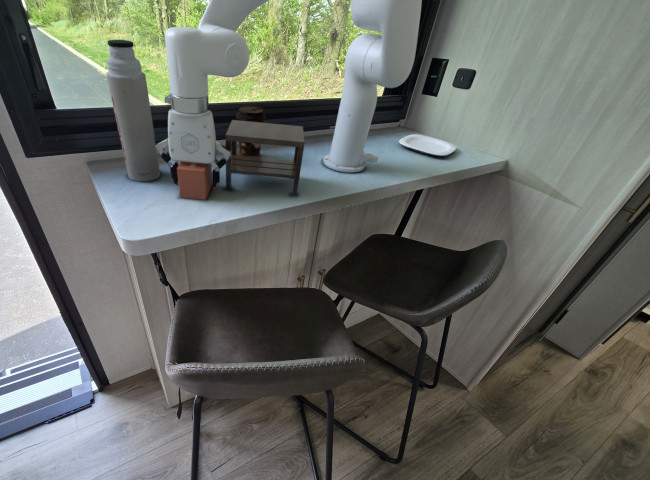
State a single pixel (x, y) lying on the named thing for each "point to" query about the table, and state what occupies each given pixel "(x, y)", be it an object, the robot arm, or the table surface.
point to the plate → (427, 145)
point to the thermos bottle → (132, 111)
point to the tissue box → (194, 180)
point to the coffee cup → (252, 116)
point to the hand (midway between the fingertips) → (196, 183)
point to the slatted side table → (264, 165)
